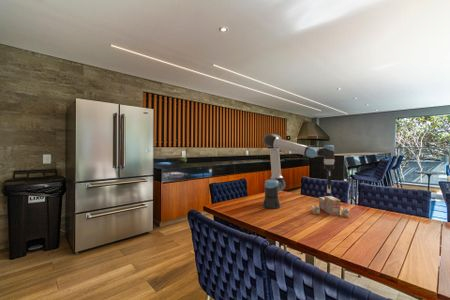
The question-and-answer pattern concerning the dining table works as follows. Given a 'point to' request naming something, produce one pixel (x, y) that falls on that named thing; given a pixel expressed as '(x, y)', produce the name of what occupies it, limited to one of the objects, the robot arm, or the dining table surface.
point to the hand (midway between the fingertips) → (328, 192)
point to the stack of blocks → (330, 205)
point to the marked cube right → (345, 212)
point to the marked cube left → (316, 209)
